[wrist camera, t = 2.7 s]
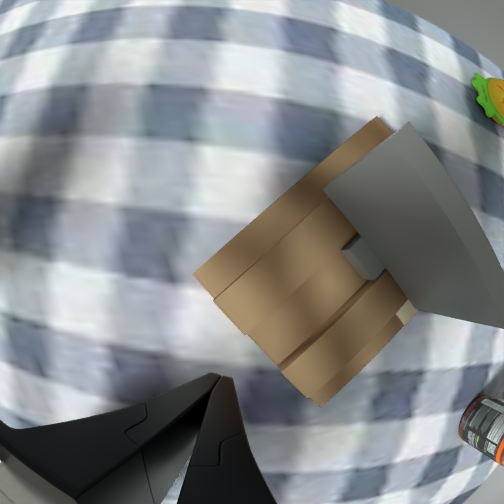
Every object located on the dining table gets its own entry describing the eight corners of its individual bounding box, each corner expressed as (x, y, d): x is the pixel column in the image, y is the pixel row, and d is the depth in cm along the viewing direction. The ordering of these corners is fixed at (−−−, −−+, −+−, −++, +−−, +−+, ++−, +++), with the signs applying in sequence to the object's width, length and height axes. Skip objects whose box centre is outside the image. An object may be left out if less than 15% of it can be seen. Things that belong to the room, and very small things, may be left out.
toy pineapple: (514, 140, 26) (541, 129, 21) (469, 126, 25) (499, 109, 20) (499, 95, 26) (523, 81, 21) (453, 75, 25) (478, 55, 20)
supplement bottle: (493, 410, 24) (553, 439, 13) (462, 445, 24) (519, 484, 13) (484, 384, 24) (553, 413, 13) (450, 423, 24) (516, 465, 12)
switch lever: (392, 317, 21) (493, 348, 11) (302, 206, 21) (371, 155, 10) (423, 281, 22) (526, 290, 11) (340, 172, 21) (422, 109, 11)
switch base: (315, 399, 22) (326, 415, 19) (194, 273, 22) (189, 275, 19) (458, 242, 24) (478, 240, 21) (369, 122, 24) (384, 108, 21)
